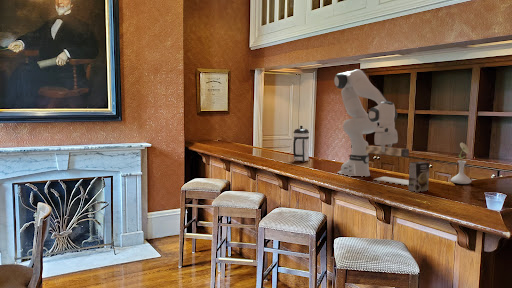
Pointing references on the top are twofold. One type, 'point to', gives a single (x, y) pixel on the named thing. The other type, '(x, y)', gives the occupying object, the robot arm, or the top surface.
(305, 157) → the coffee press
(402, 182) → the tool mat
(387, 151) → the mottled brown bar
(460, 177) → the flower in vase
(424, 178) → the coffee box
